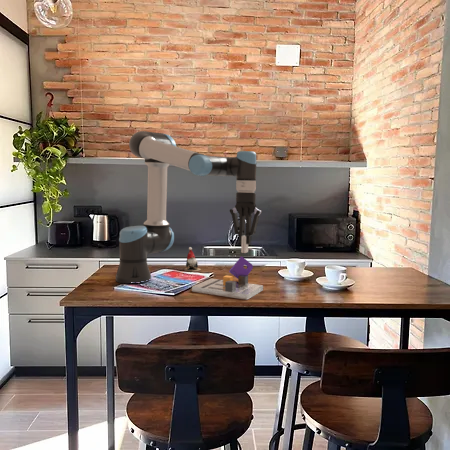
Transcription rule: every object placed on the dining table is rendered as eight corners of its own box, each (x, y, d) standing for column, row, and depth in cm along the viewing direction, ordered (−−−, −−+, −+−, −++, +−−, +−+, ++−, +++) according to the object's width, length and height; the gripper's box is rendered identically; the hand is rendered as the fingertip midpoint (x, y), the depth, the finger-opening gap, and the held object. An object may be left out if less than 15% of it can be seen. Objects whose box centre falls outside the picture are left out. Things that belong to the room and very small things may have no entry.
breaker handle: (223, 285, 171) (223, 276, 171) (226, 283, 174) (226, 275, 173) (229, 286, 170) (229, 277, 169) (233, 284, 172) (233, 276, 172)
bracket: (244, 279, 177) (254, 266, 178) (231, 269, 177) (241, 256, 179) (240, 281, 189) (250, 268, 190) (228, 271, 189) (237, 259, 191)
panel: (192, 291, 170) (192, 277, 170) (211, 283, 184) (211, 270, 184) (247, 299, 160) (247, 285, 159) (263, 290, 174) (263, 276, 173)
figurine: (198, 265, 203) (183, 247, 208) (188, 279, 207) (173, 261, 212) (209, 262, 210) (194, 245, 214) (198, 276, 214) (184, 259, 219)
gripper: (226, 191, 164) (225, 252, 167) (258, 192, 158) (256, 255, 161) (234, 191, 171) (233, 249, 173) (265, 192, 165) (264, 252, 168)
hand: (244, 252), depth 167 cm, fingers closed
